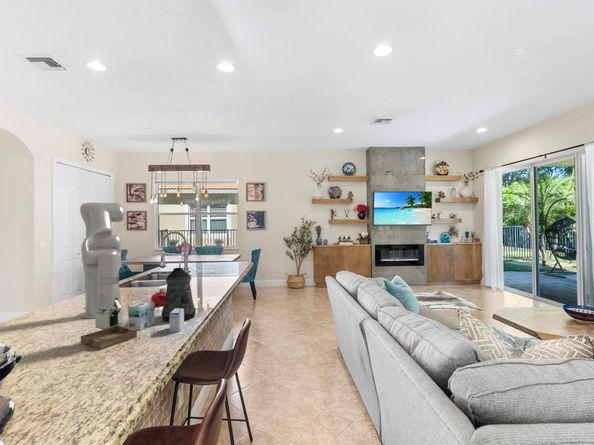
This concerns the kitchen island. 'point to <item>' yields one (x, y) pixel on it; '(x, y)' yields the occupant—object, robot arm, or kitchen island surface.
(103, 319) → the small crate
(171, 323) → the medicine box
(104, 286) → the robot arm
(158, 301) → the pomegranate
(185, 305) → the beer stein
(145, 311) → the light bulb box
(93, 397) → the kitchen island surface
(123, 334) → the crate
